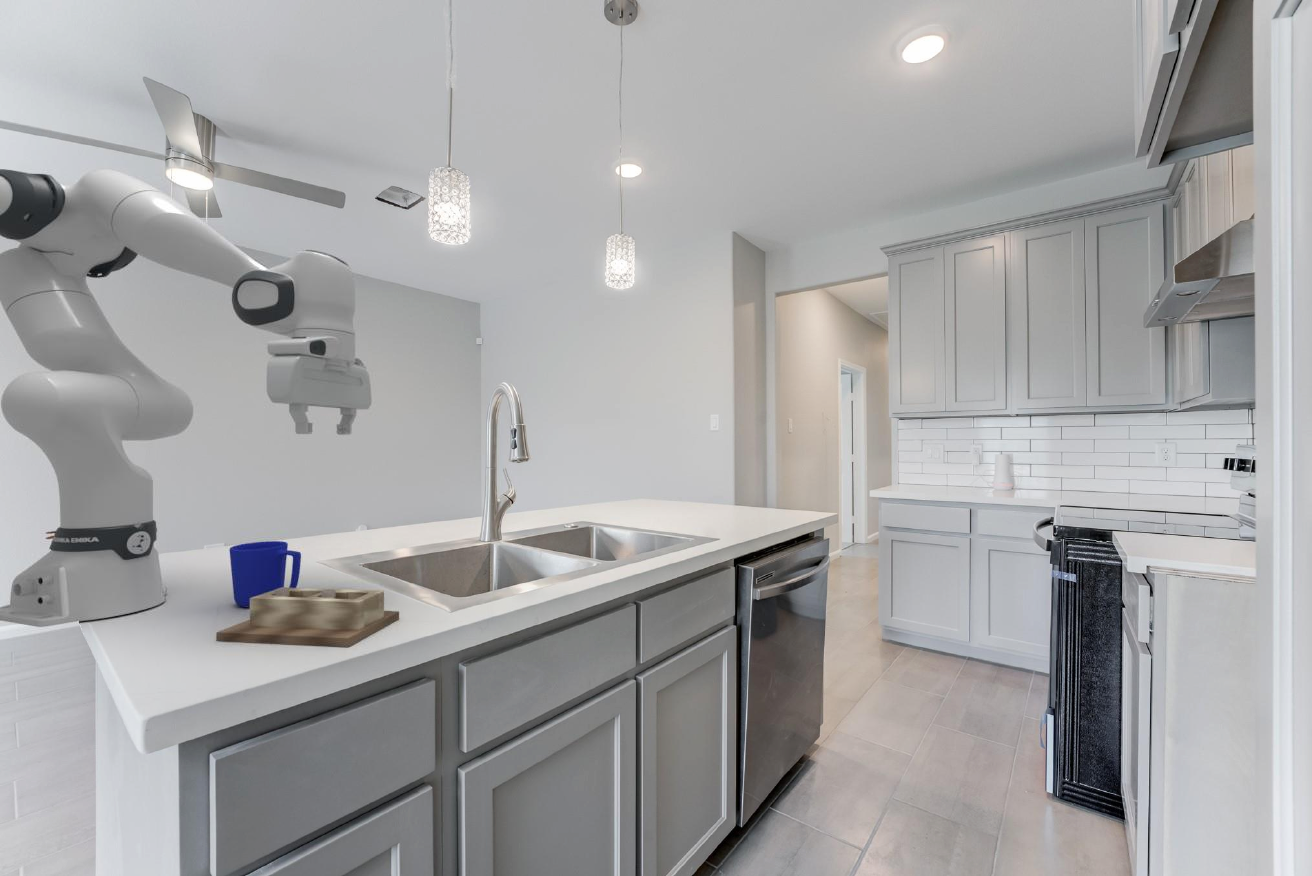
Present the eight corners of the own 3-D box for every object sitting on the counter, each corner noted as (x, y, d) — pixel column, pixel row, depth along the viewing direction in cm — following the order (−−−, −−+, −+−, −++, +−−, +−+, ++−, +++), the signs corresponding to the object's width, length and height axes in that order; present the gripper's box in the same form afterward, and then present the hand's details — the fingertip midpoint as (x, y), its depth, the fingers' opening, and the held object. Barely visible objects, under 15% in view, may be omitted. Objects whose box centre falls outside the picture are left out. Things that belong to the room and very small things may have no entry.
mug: (277, 613, 91) (277, 551, 91) (216, 608, 93) (216, 549, 93) (317, 599, 99) (317, 542, 99) (260, 595, 101) (260, 540, 101)
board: (216, 640, 79) (216, 600, 79) (283, 614, 90) (283, 579, 90) (348, 647, 76) (348, 605, 76) (399, 619, 88) (399, 582, 88)
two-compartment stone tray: (249, 625, 81) (249, 598, 81) (282, 613, 87) (282, 587, 87) (358, 630, 79) (358, 602, 79) (384, 617, 85) (384, 590, 85)
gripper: (348, 360, 104) (348, 434, 104) (257, 340, 83) (257, 433, 83) (380, 359, 103) (380, 434, 103) (296, 340, 83) (296, 433, 83)
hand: (325, 434), depth 93 cm, fingers open, 8 cm apart
